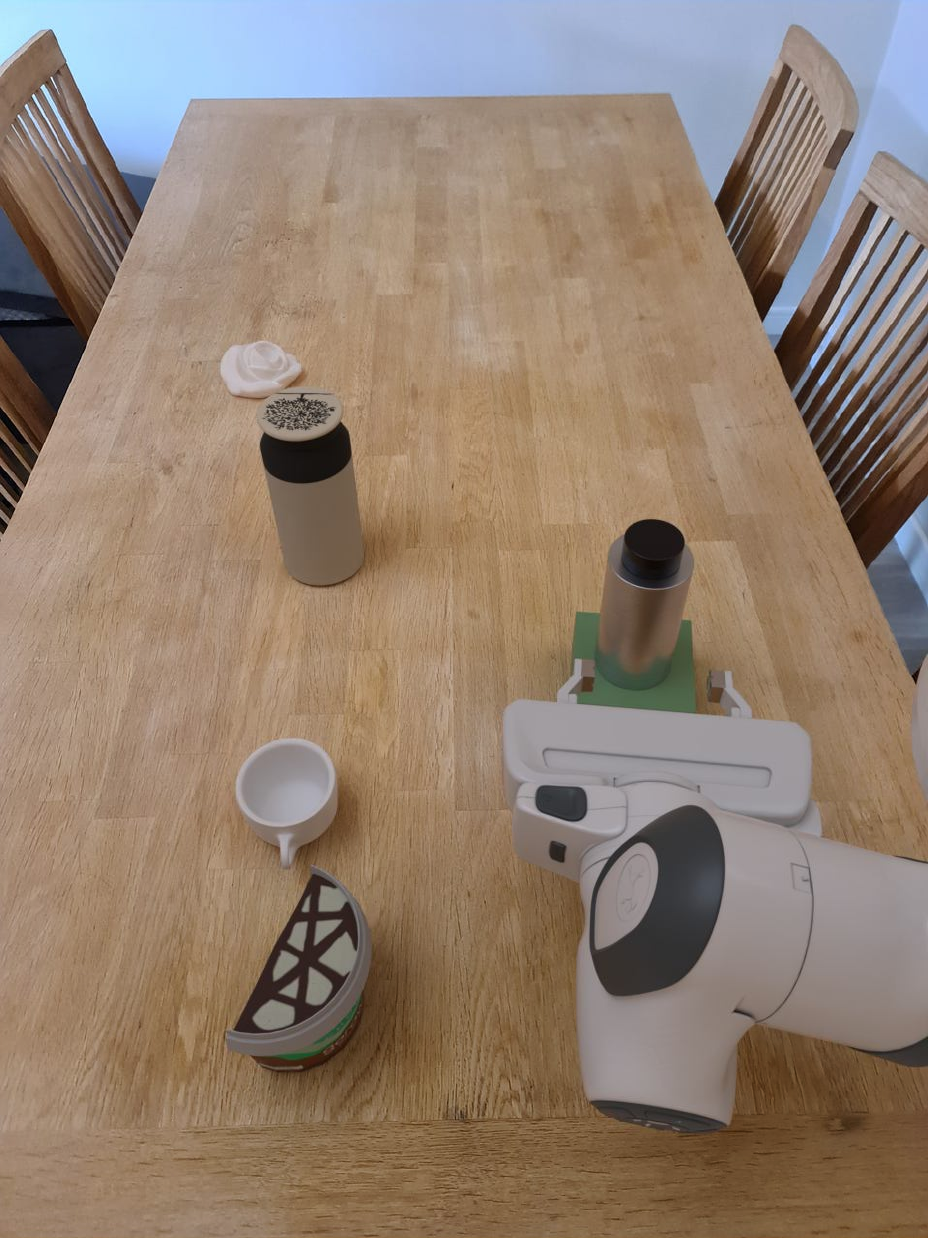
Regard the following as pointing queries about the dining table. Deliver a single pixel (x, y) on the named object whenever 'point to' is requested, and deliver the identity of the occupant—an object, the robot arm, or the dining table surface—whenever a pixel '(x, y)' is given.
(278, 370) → the rose
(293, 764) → the teacup
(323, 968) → the food container
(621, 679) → the flask
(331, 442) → the travel mug
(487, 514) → the dining table surface
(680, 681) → the green block
